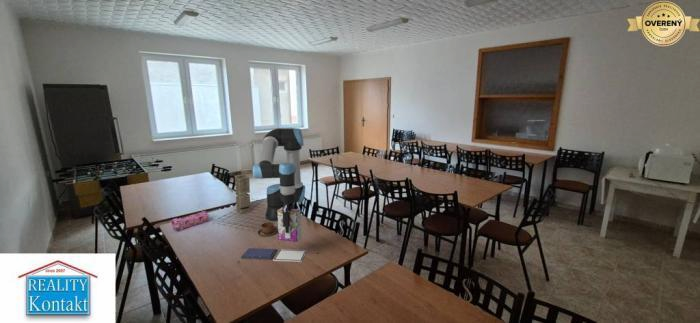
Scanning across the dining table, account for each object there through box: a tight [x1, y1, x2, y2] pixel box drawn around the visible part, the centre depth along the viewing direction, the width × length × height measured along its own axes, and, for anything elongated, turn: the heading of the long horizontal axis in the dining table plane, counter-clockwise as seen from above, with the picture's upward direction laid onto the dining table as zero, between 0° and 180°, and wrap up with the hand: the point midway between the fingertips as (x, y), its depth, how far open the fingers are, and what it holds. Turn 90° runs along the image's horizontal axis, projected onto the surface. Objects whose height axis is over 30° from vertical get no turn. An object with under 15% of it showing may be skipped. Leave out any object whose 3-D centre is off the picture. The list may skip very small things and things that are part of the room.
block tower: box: [234, 173, 252, 215], centre depth 217 cm, size 8×8×29 cm
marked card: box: [272, 248, 307, 263], centre depth 155 cm, size 12×15×1 cm
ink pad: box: [240, 247, 278, 260], centre depth 156 cm, size 10×16×1 cm, turn 85°
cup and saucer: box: [257, 222, 278, 237], centre depth 182 cm, size 12×12×6 cm
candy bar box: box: [277, 208, 302, 243], centre depth 152 cm, size 11×5×16 cm, turn 76°
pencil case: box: [171, 210, 210, 233], centre depth 193 cm, size 21×9×9 cm, turn 142°
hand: (289, 235), depth 153 cm, fingers closed on candy bar box, 5 cm apart
